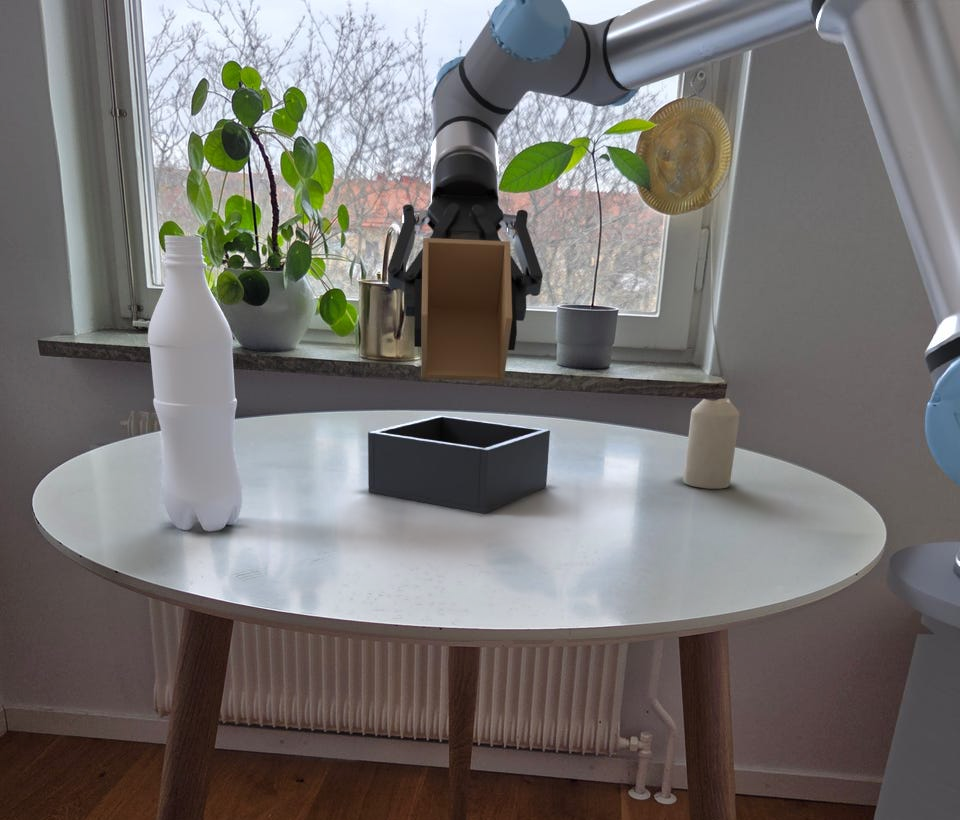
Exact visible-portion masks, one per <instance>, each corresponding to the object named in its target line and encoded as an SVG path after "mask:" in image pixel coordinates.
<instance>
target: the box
mask: <svg viewBox="0 0 960 820" xmlns="http://www.w3.org/2000/svg"><path fill="white" fill-rule="evenodd" d="M422 248H423V266H422V327H421V347H420V348H421V350H420V353H421V354H420V355H421V356H420V360H421V361H420V363H421V364H420V379H421V380H445V381H474V382H475V381H476V382H499V383H500V382H505V375H506V367H507V359H508V352H509V350H508V346H509V338H510V331H511V324H512V290H511V256H512V255H511V241H508V240H507V241H506V240H501V241H486V240H462V239H438V238H430V237H423V238H422Z"/></svg>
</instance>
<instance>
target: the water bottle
mask: <svg viewBox="0 0 960 820" xmlns="http://www.w3.org/2000/svg"><path fill="white" fill-rule="evenodd" d="M163 239H164V245H165V246H164V249H165V254H164V255H163V257H164V258H165V260H163V263H162V266H165V267H166V269H165V271H166V275H165V282H164V286H163V289H162V292H161V294H160V296H159V299H158V301H157V303H156V305H155V308H154V310H153V313H152V315H151V318H150V321H149V325H148V331H147V343H148V345H149V352H150V362H151V373H152V374H151V375H152V385H153V395H154V398H153V400H152V402H153V407H154V410H155V413H156V416H157V421H158V423H159V427H160V431H161V439H162V446H163V447H162V449H163V451H162V452H163V464H162V474H161V482H160V487H161V497H162V502H163V505H164V508H165V511H166V514H167V515H168V517H169V519H170V520H171V522H172V523H173V525H174V526H175V527H176V528H177V529H180V530H182V531H189V530H191V529H192V528H193V526H194V525H195V524H196V522H197V521H198V522H199V523H200V525H201V527H202V529H203V530H204V531H205V532H216V531H220V530H223V529H224V528H225V527H226V525H227V526H232V525H234V524H236V523H237V521H238V519H239V517H240V514H241V510H242V506H243V480H242V476H241V473H240V469H239V467H238V466H239V465H238V462H237V456H236V451H235V450H236V449H235V448H236V447H235V418H236V412H237V411H236V410H237V406H238V405H237V404H238V400H237V398H236V389H235V387H236V385H235V371H234V369H235V368H234V354H233V345H234V339H233V333H232V329H231V326H230V324H229V322H228V320H227V318H226V316H225V314H224V312H223V310H222V308H221V307H220V305H219V303H218V301H217V300H216V298H215V296H214V295H213V293H212V290H211V289H210V286H209V283H208V281H207V277H206V273H205V272H206V271H205V268H208V264H207V262H205V261H204V259H205V258H206V257H205V255H203V245H202V243H203V241H202V236H192V235H191V236H190V235H170V234H169V235H168V234H164V238H163Z"/></svg>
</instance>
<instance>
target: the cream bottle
mask: <svg viewBox="0 0 960 820" xmlns="http://www.w3.org/2000/svg"><path fill="white" fill-rule="evenodd" d="M740 416H741V413H740V411H739V410H738V408H736V406H735V405H734V404H733V403H732V401H731V400H730V398H718V399H716V400H709V399H705V398H703V399H701V401H700V402H699V403H698V404H697V405H695V406H694V407H693V408H692V409H691V413H690V421H689V427H688V436H687V437H688V438H687V445H686V452H685V461H684V469H683V478H682V481H683V483H684V484H685V485H687V486H691V487H694V488H700V489H713V490H715V489H717V490H718V489H726V488H728V487H729V486H730V484H731V479H732V471H733V465H734V458H735V453H736V452H735V451H736V446H737V445H736V444H737V437H738V430H739V422H740V418H741V417H740Z"/></svg>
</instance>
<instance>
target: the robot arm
mask: <svg viewBox="0 0 960 820" xmlns="http://www.w3.org/2000/svg"><path fill="white" fill-rule="evenodd" d="M815 29H816V30H817V33H818V36H819V37H820V38H821V39H822V40H824V41H826V42H829V43H833V44H838V45H843V46H844V47H845V48H846V49H845V50H846V52H847V54H848V58H849V62H850V65H851V67H852V70H853V74H854V77H855V80H856V82H857V85H858V88H859V92H860V94H861V97H862V100H863V105H864V107H865V109H866V113H867V115H868V118H869V122H870V125H871V128H872V131H873V134H874V137H875V139H876V143H877V146H878V149H879V152H880V155H881V158H882V161H883V164H884V167H885V171H886V173H887V177H888V179H889V182H890V186H891V188H892V192H893V195H894V197H895V201H896V203H897V204H896V205H897V207H898V210H899V213H900V216H901V219H902V223H903V225H904V228H905V231H906V234H907V238H908V241H909V243H910V247H911V250H912V253H913V255H914V259H915V262H916V264H917V268H918V271H919V274H920V277H921V281H922V284H923V286H924V289H925V293H926V296H927V298H928V302H929V304H930V308H931V312H932V314H933V318H934V320H935V323H936V329H935V333H934V335H933V336H932V339H931V340H930V343H929V344H928V345H927V348H926V350H925V351H924V360H925V362H926V365H927V369H928V371H929V375H930V378H931V382H932V385H933V391H932V392H931V396H930V400H929V401H928V402H927V405H926V408H925V416H924V432H925V439H926V442H927V445H928V449H929V451H930V453H931V456H932V457H933V459H934V461H935V463H936V464H937V466H938V467H939V468H940V470H941V471H942V472H943V473H944V474H945V475H946V477H948V478H949V479H950V480H951V481H952V482H954V483H955V484H956V485H958V486H959V487H960V0H651V1H649V2H646V3H644V4H642V5H641V4H640V5H639V6H637V7H634V8H632V9H630V10H627V11H625V12H623V13H621V14H618V15H616V16H613V17H612V18H608V19H606V20H604V21H601V22H598V23H594V24H589V23H585V22H581V21H577V20H575V19H571V15H570V12H569V10H568V8H567V6H566V5H565V3H564V1H563V0H501V1H500V3H499V4H498V5H496V6H495V7H494V9H493V11H492V12H491V15H490V18H489V19H488V20H487V22H486V23H485V25H484V26H483V28H482V29H481V31H480V33H479V34H478V36H477V37H476V39H475V40H474V42H473V44H472V45H471V46H470V48H469V50H467V52H466V53H465V55H460V56H457V57H455V58H453V59H452V60H449V61H448V62H445V63H444V64H443V65H442V66H441V67H440V68H439V70H438V72H437V74H436V76H435V78H434V83H433V91H432V94H431V96H432V97H431V98H432V99H431V102H430V103H431V106H430V107H431V181H430V182H431V183H430V185H431V187H430V203H429V205H428V206H427V208H426V209H419V210H418V209H417V210H415V209H414V206H413V205H412V204H409V203H408V204H404V205H403V206H402V226H401V228H400V231H399V234H398V237H397V239H396V243H395V246H394V248H393V252H392V255H391V257H390V260H389V263H388V266H387V287H388V289H389V290H391V291H397V290H400V291H402V292H403V312H404V316H405V317H414V320H413V321H414V322H413V325H414V326H413V330H414V331H413V337H414V339H413V340H414V341H413V343H414V345H413V346H414V348H421V327H422V266H423V247H422V248H421V250H420V251H419V252H418V254H417V255H416V257H415V258H414V260H413V261H412V263H411V264H410V265H409V266H408V268H407V265H408V262H409V260H410V257H411V253H412V250H413V247H414V244H415V240H416V235H419V234H420V231H421V230H422V229H423V226H424V225H426V224H427V226H428V227H429V228H430V229H431V230H432V233H431V235H430V237H429V238H438V239H462V240H486V241H502V240H501V238H500V237H499V231H500V230H501V229H502V228H504V229H506V232H507V234H508V235H509V238H510V239H513V247H514V250H515V252H516V257H517V260H518V262H519V265H520V267H519V266H518V264H517V262H516V261H515V260H514V258H513V256H512V255H511V290H512V324H511V331H510V338H509V346H508V351H515V348H516V342H517V335H518V327H517V326H518V325H517V322H519V321H520V322H524V320H525V318H526V313H527V296H529V295H531V296H532V297H537V296H539V295H540V294H541V291H542V282H543V276H544V275H543V272H542V271H543V270H542V268H541V265H540V262H539V260H538V256H537V254H536V250H535V248H534V245H533V242H532V238H531V236H530V233H529V230H528V226H527V225H528V217H529V216H528V215H529V213H528V211H527V210H525V209H519V210H518V211H517V212H516V214H508V213H504V210H503V209H502V208H501V206H500V199H499V197H500V196H499V195H500V194H499V191H500V189H499V152H498V151H499V150H498V149H499V148H498V147H499V145H498V143H499V142H498V132H499V129H500V127H501V126H502V124H503V123H504V122H505V121H506V119H507V117H508V116H509V115H510V114H511V113H512V112H513V111H514V110H515V109H516V107H517V106H518V104H519V103H520V102H521V100H522V99H523V98H524V97H525V96H526V94H527V93H528V92H532V93H536V94H542V95H545V96H546V95H547V96H552V97H557V98H561V99H562V98H563V99H566V100H571V101H577V102H581V103H586V104H588V105H592V106H595V107H620V106H624V105H625V104H628V103H629V102H630V101H631V99H633V97H634V96H636V95H637V94H638V92H639V90H640V89H641V88H642V87H646V86H648V85H652V84H654V83H657V82H661V81H663V80H666V79H669V78H673V77H676V76H679V75H682V74H684V73H687V72H690V71H693V70H696V69H699V68H702V67H705V66H708V65H711V64H714V63H717V62H720V61H723V60H726V59H729V58H733V57H735V56H739V55H741V54H744V53H747V52H749V51H753V50H757V49H760V48H761V47H764V46H768V45H770V44H774V43H777V42H779V41H782V40H785V39H788V38H792V37H794V36H798V35H801V34H803V33H807V32H810V31H812V30H815ZM406 269H407V270H406ZM953 571H954V573H955V575H956V576H957V577H959V578H960V548H959V550H958V553H957V554H956V558H955V562H954V566H953Z"/></svg>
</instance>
